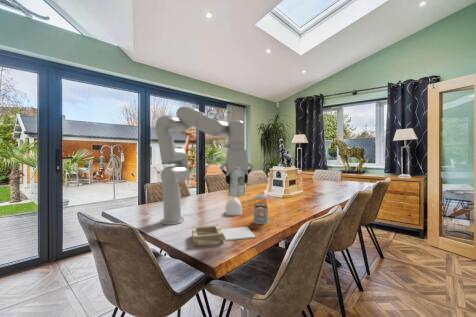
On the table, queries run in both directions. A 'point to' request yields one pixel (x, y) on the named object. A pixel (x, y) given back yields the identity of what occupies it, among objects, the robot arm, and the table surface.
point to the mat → (237, 233)
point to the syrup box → (237, 182)
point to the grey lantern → (260, 210)
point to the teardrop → (233, 207)
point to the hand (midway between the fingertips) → (236, 183)
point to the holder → (207, 235)
